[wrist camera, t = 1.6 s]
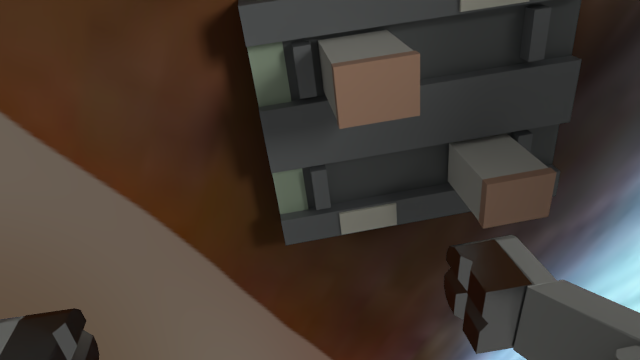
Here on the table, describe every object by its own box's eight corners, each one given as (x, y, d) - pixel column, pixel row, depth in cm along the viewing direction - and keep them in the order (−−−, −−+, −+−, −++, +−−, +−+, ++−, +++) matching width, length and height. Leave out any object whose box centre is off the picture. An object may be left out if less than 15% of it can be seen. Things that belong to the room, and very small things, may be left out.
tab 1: (387, 28, 25) (420, 53, 21) (389, 81, 27) (420, 115, 22) (316, 39, 25) (333, 67, 20) (322, 91, 27) (339, 128, 22)
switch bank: (573, -50, 26) (604, -48, 24) (536, 178, 35) (557, 197, 32) (238, -1, 25) (238, 6, 23) (283, 224, 33) (286, 246, 31)
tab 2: (507, 132, 30) (556, 172, 25) (502, 171, 32) (548, 216, 27) (448, 142, 30) (487, 184, 25) (447, 181, 31) (483, 228, 26)
